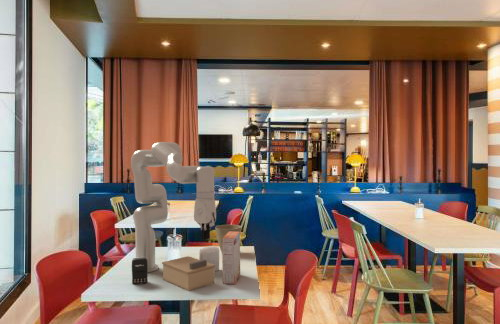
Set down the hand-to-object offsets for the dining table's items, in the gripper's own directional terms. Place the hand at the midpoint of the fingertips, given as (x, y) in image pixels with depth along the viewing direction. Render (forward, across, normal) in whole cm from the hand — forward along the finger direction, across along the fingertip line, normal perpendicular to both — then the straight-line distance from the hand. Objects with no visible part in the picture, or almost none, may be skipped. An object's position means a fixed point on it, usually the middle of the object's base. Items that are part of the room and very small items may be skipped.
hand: (205, 238), depth 155 cm
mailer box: (+22, -14, +1) cm, 26 cm away
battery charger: (+22, -27, -16) cm, 38 cm away
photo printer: (+22, -19, +17) cm, 34 cm away
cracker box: (+22, -3, +17) cm, 28 cm away
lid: (+14, -14, +1) cm, 20 cm away
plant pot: (+22, -37, +45) cm, 62 cm away
